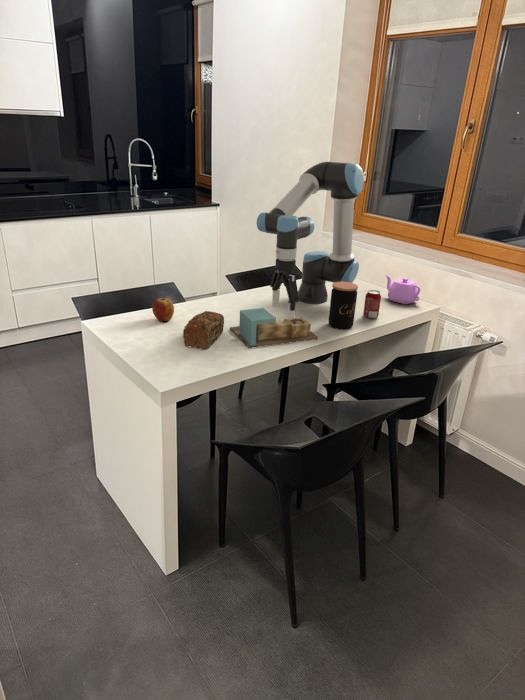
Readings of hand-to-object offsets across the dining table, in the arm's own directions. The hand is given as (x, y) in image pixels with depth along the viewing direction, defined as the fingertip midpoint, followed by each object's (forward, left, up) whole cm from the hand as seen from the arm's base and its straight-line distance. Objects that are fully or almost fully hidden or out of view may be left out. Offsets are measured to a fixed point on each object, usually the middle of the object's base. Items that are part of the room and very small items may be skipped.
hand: (283, 311), depth 193 cm
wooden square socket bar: (0, 0, -10) cm, 10 cm away
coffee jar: (-4, +30, -11) cm, 32 cm away
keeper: (0, -11, -11) cm, 15 cm away
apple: (-32, -40, -11) cm, 52 cm away
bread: (-7, -30, -11) cm, 33 cm away
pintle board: (-4, -2, -11) cm, 11 cm away
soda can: (-9, +49, -11) cm, 51 cm away
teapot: (-25, +78, -11) cm, 83 cm away
